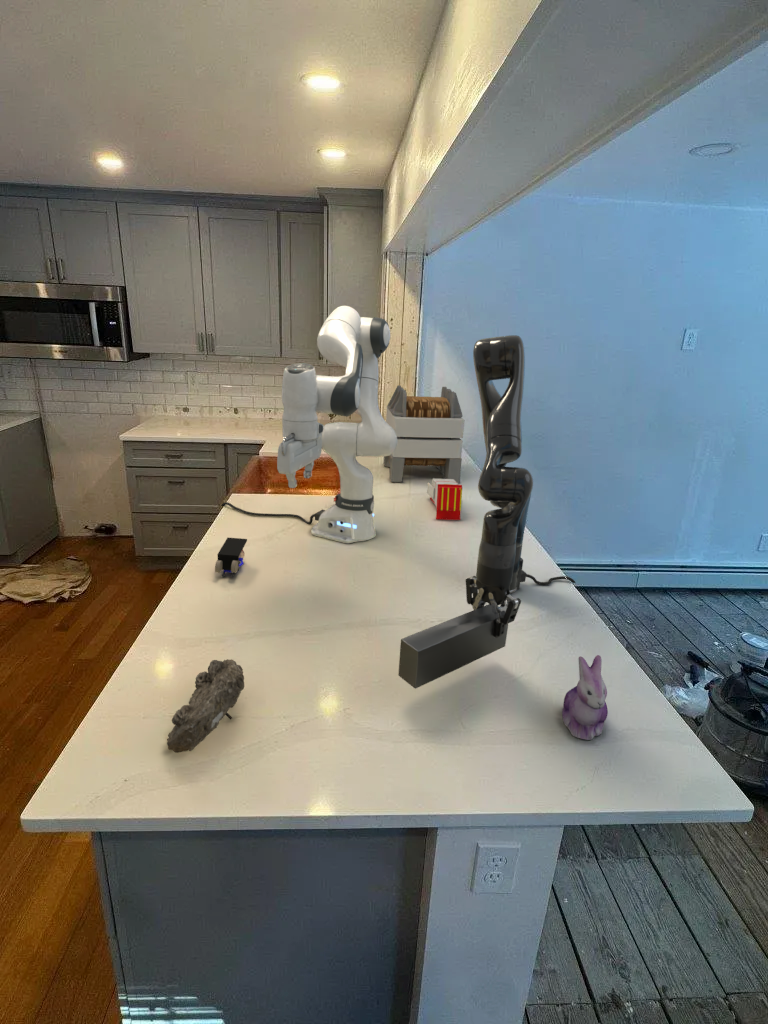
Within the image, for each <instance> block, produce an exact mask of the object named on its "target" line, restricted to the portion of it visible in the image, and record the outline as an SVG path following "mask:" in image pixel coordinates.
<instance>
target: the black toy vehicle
mask: <svg viewBox="0 0 768 1024" xmlns="http://www.w3.org/2000/svg"><path fill="white" fill-rule="evenodd" d="M247 542H248V538H240V537H226V539H225V541H224V543H223V544H222V546H221V547H220V549H219V551H218V552H217V560H216V562H215V564H214V572H215V573H221V577H222V578H224V577H225V576H226V574H227V573H230V574H231V573H232V574H231V578H234V577H235V575H236V573H237V572H239V571H240V567H242V566H243V565H244V564H245V562H244V558H245V551H244V547H245V546H246V544H247Z"/></svg>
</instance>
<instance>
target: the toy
mask: <svg viewBox="0 0 768 1024" xmlns="http://www.w3.org/2000/svg"><path fill="white" fill-rule="evenodd" d="M431 480H432V481H431V483H430V482H427V487H426V493H427V495H429V500H430V501H431V502H432V503H433V504H434V506H435V508H436V510H435V511H436V513H435V520H442V521H443V520H445V521H447V520H448V521H461V511H462V502H463V501H462V500H463V499H462V498H463V484H459V483H457V482H456V481H455V480H454V479H445V478H432V479H431Z"/></svg>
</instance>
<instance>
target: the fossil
mask: <svg viewBox="0 0 768 1024" xmlns="http://www.w3.org/2000/svg"><path fill="white" fill-rule="evenodd" d="M243 670H244V669H243V667H242V665H240V664H237V662H236V661H235V660H234V659H232V658H231V659H227V658H226V659H224V660H223V661H222V660H217V659H212V660H211V661H210V663H209V665H208V666H207V671H201V672H199V673H198V674H197V675H196V676H195V680H194V684H195V685H194V687H195V689H194V690H193V693H192V694H191V697H190V698H189V700H188V704H184V705H182V706H181V707H180V709H177V710H176V711H175V713H174V715H173V716H172V718H171V723H172V724H173V727H172V730H171V731H170V732H168V734H167V738H166V741H167V742H166V745H167V749H168V750H169V751H173V752H174V753H176V754H178V753H182V752H188V751H189V752H192V751H193V750H195V748H196V747H197V746H199V744H200V743H201V742H203V741H204V740H205V739H206V738H207V737H208V736H209V735H210V734H211V733H212V732H214V730H215V729H217V727H218V726H219V724H220V722H221V721H222V720H223V719H224V718H225V716H226V717H227V719H229V720H233V717H232V715H230V714H229V710H230V709H231V708H234V706H235V704H236V703H237V702H238V699H239V697H240V695H241V693H242V691H243V690H245V689H244V688H245V675H244V671H243Z"/></svg>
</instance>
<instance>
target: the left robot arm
mask: <svg viewBox="0 0 768 1024" xmlns="http://www.w3.org/2000/svg"><path fill="white" fill-rule="evenodd" d="M390 340H391V329H390V326H389V323H388V321H387V320H386V319H384V318H381V317H376V316H374V317H368V316H367V317H366V316H360V313H359V312H358V311H357V310H356V309H355V308H354V307H352V306H349V305H339V306H338V307H336V308H335V309H333V311H332V312H331V313H330V314H329V315H328V316H327V317H326V319H325V321H324V322H323V324H322V326H321V327H320V329H319V331H318V334H317V338H316V345H317V348H318V351H319V353H320V354H321V356H322V358H324V359H325V360H326V361H327V362H329V363H331V364H333V365H335V366H340V367H343V368H345V374H344V375H340V376H339V375H338V376H336V375H335V376H333V375H320V374H317V372H316V367H315V366H314V365H312V364H310V363H305V362H297V363H291V364H289V365H287V366H285V367H284V369H283V370H284V371H283V375H282V382H281V403H282V407H283V411H282V417H281V424H282V427H281V428H282V442H280V443H279V445H278V448H277V460H276V469H277V472H278V474H281V475H285V477H286V479H287V482H288V483H287V484H288V488H290V489H295V488H296V487H297V486H298V479H296V475H297V472H298V471H300V470H301V469H303V468H304V471H303V478H304V479H310V478H311V477H313V469H314V466H315V461H316V460H318V459H320V457H321V455H322V451H323V452H324V453H325V454H327V455H328V456H329V457H330V459H332V461H333V462H334V464H335V465H336V467H337V470H338V473H339V483H340V484H339V485H340V488H339V489H340V490H339V491H338V492H337V494H336V495H335V496H334V497H333V502H334V504H333V505H331V506H329V507H328V508H326V509H321V510H319V511H317V512H315V513H313V514H312V515H310V517H309V521H307V520H306V519H305V518H304V517H302V516H301V515H299V514H294V513H293V514H292V513H263V512H261V513H260V512H251V511H247V510H244V509H242V508H239V507H238V506H237V507H236V506H235V505H233V504H232V503H230V502H228V501H225V502H223V503H222V504H221V507H225V506H229V507H230V508H232V509H233V510H235V511H238V512H240V513H242V514H245V515H249V516H255V517H273V518H274V517H275V518H276V517H279V518H281V517H282V518H283V517H284V518H286V517H288V518H297V519H299V520H300V521H301V522H304V523H305V524H306V525H312V524H313V521H316V522H317V523H315V524H314V525H313V526H312V528H311V530H310V533H311V536H315V537H319V538H323V539H326V540H330V541H336V542H339V543H343V544H352V543H357V542H365V541H368V540H372V539H373V538H375V537H376V535H377V532H376V528H375V523H374V517H375V513H373V512H374V509H375V496H374V474H373V472H372V471H371V469H369V468H368V467H366V466H365V465H363V464H362V463H360V462H359V461H358V459H357V457H364V458H384V456H390V455H391V454H392V453H393V452H394V450H395V449H396V446H397V435H396V433H395V431H394V429H393V428H392V427H391V426H389V425H388V424H387V423H386V419H384V417H383V416H382V413H381V411H380V406H379V362H378V361H379V360H378V359H379V358H381V356H382V354H383V353H385V352H386V350H387V349H388V347H389V346H390V342H391V341H390ZM354 413H355V414H357V415H358V416H360V418H361V421H360V422H348V421H335V422H330V423H325V424H323V423H321V422H318V420H319V419H318V418H319V417H318V414H329V415H336V416H341V417H345V418H346V417H347V418H348V417H350V416H351V415H353V414H354ZM313 519H314V520H313Z"/></svg>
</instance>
